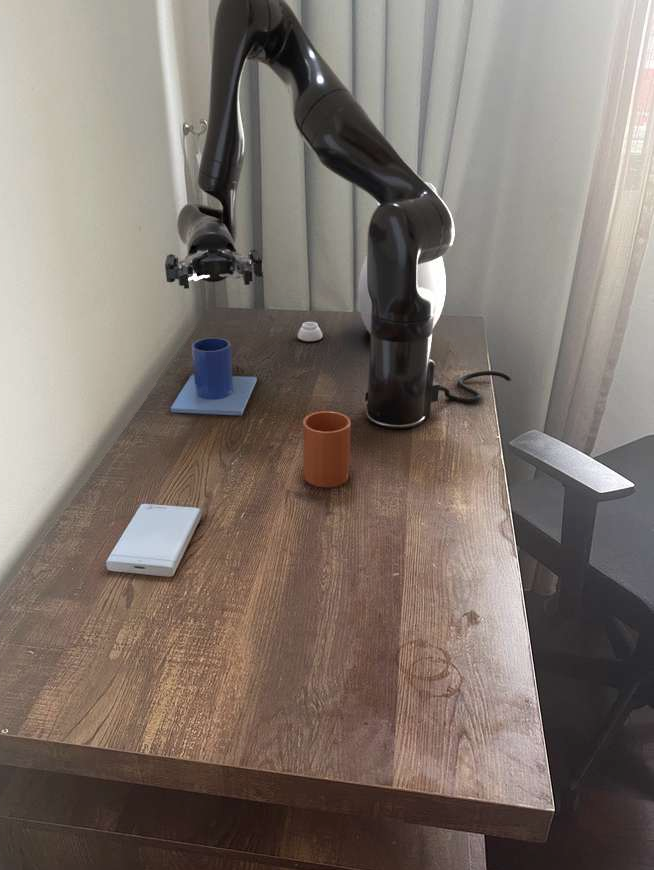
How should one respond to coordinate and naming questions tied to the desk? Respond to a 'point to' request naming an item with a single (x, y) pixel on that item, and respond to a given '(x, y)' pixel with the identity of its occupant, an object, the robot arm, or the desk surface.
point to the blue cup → (212, 368)
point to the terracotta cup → (326, 448)
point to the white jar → (310, 332)
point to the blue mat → (224, 406)
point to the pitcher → (427, 277)
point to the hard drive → (154, 540)
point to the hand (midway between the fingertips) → (216, 279)
